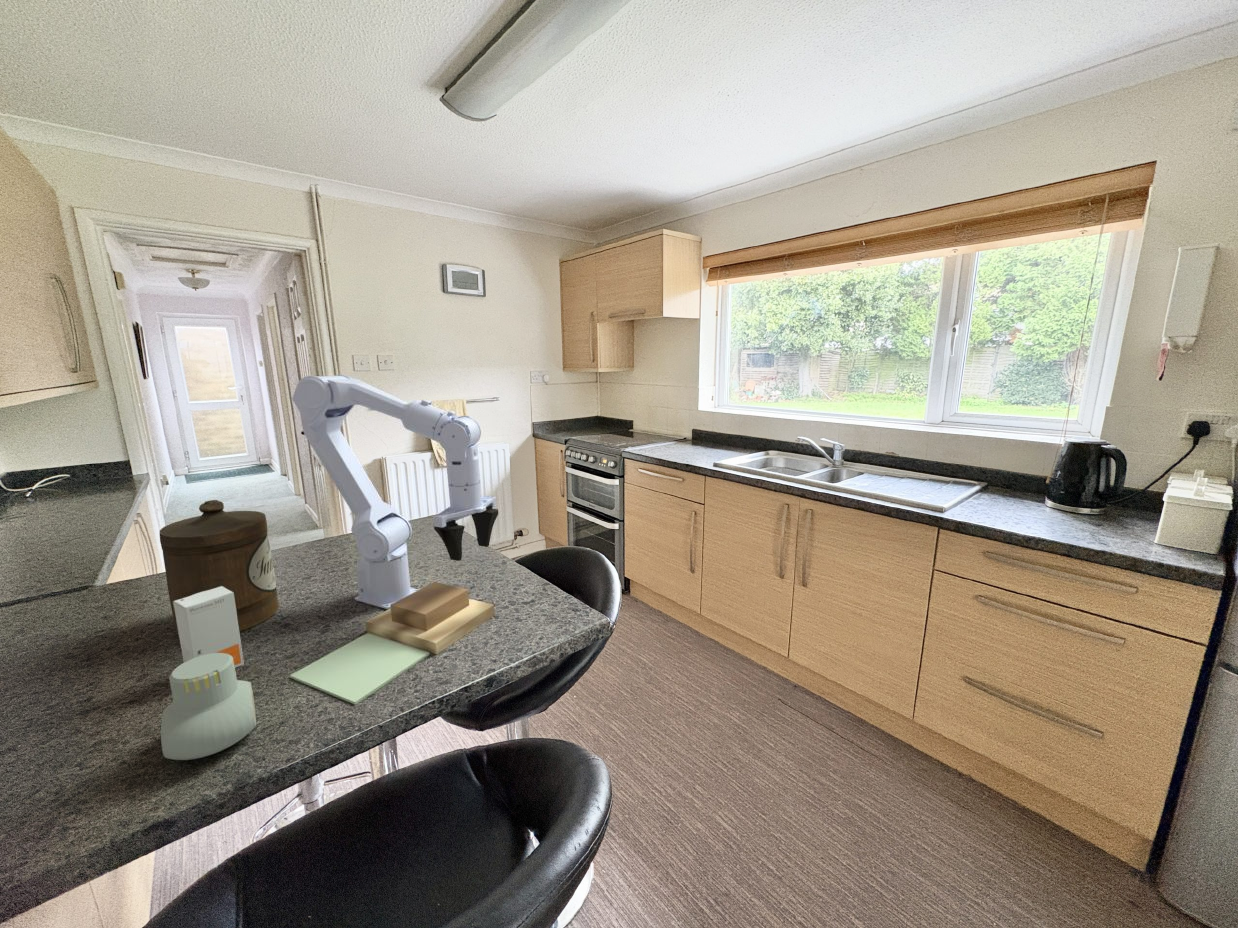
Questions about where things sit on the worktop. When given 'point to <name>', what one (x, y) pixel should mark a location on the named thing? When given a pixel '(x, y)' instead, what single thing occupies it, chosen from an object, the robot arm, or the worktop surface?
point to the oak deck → (437, 635)
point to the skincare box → (209, 625)
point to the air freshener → (206, 708)
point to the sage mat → (360, 667)
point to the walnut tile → (429, 606)
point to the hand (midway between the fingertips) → (470, 552)
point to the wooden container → (222, 560)
